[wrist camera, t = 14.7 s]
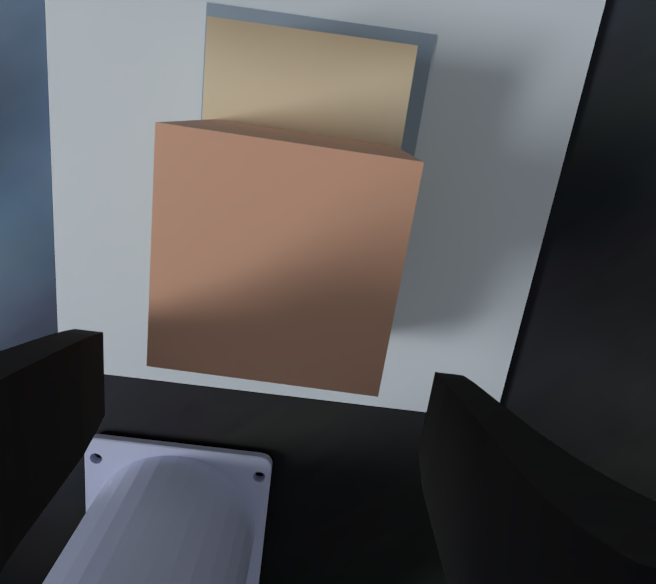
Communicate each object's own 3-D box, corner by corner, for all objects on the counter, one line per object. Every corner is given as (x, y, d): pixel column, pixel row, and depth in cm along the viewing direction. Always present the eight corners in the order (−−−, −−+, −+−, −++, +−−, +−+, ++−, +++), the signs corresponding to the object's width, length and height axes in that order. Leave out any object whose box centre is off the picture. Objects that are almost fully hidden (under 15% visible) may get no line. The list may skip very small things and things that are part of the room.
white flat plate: (492, 415, 22) (495, 421, 22) (64, 364, 22) (58, 369, 21) (603, -9, 17) (610, -12, 17) (48, -89, 17) (39, -95, 16)
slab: (356, 335, 21) (361, 384, 17) (216, 317, 21) (189, 364, 17) (399, 60, 18) (418, 45, 14) (234, 37, 17) (207, 16, 14)
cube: (365, 313, 16) (378, 396, 11) (202, 291, 16) (146, 366, 11) (394, 146, 15) (424, 162, 10) (213, 119, 14) (155, 122, 10)
